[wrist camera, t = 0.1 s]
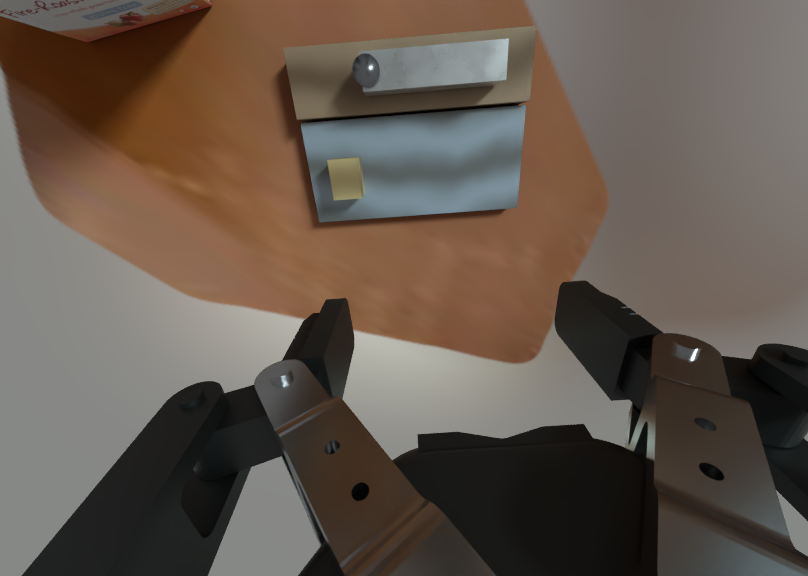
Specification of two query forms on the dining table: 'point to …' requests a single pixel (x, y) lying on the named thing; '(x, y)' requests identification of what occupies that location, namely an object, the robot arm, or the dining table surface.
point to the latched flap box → (410, 133)
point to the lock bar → (432, 67)
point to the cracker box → (95, 14)
